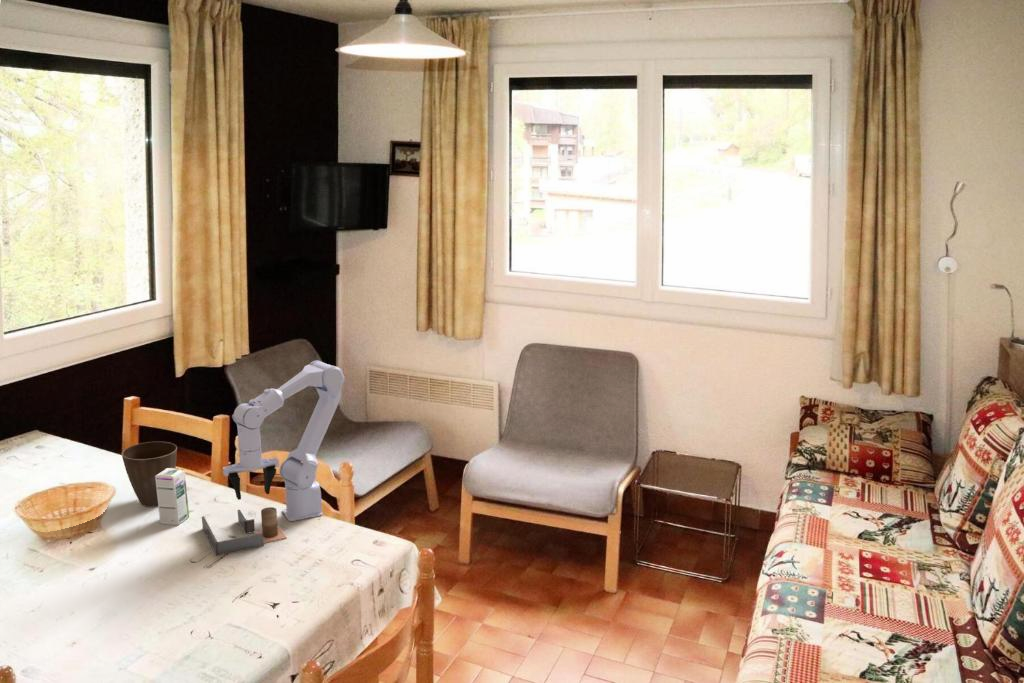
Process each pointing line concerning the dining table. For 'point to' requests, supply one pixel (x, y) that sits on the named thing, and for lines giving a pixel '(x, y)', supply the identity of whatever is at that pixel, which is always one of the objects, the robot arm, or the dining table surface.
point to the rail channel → (236, 543)
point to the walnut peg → (269, 522)
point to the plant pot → (148, 467)
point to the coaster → (278, 537)
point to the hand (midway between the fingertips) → (253, 495)
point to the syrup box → (172, 496)
